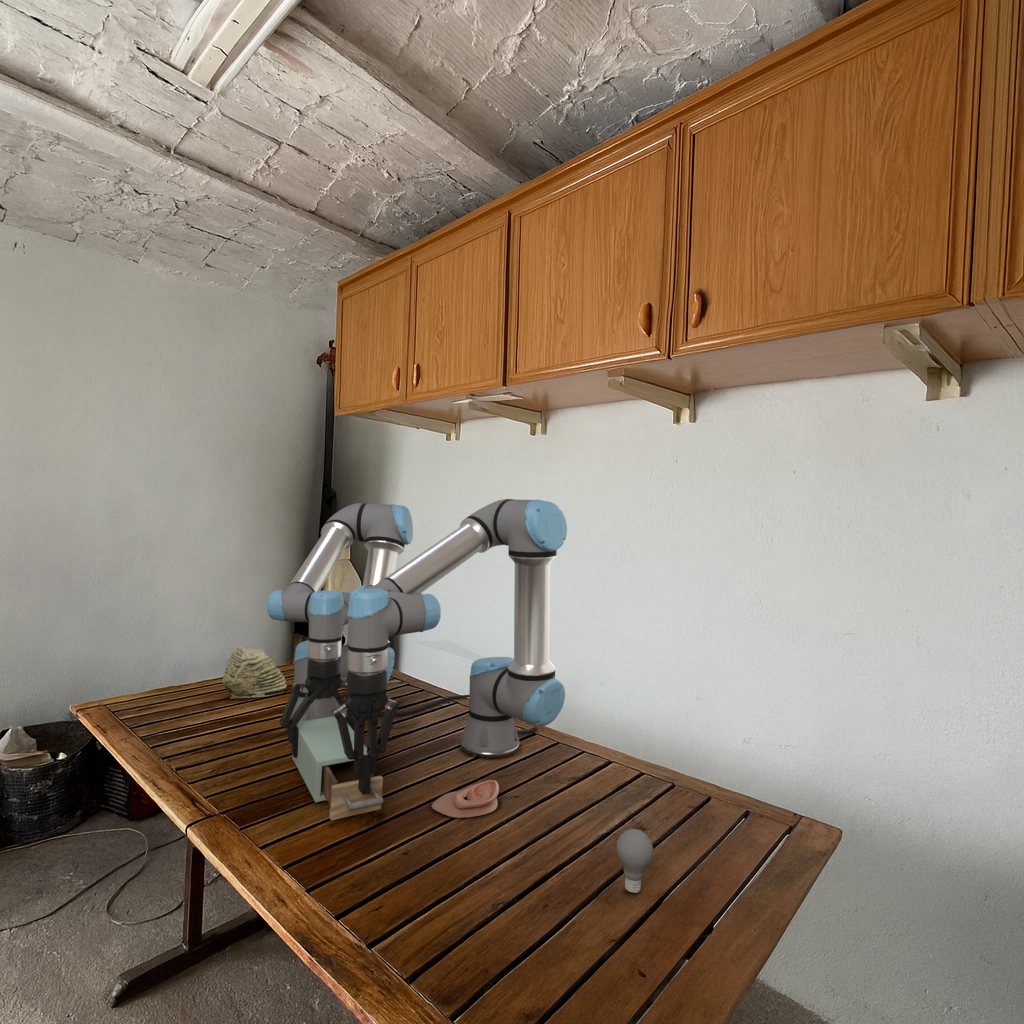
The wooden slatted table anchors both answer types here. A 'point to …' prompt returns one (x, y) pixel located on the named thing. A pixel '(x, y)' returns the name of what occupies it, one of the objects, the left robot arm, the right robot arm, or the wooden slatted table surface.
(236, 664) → the fossil
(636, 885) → the light bulb
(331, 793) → the drawer
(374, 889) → the wooden slatted table surface
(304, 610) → the left robot arm
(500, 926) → the wooden slatted table surface
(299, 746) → the cabinet
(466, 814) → the anatomical model
